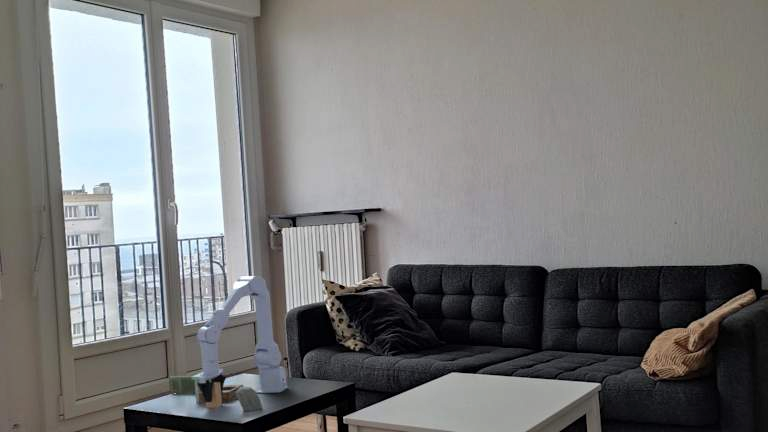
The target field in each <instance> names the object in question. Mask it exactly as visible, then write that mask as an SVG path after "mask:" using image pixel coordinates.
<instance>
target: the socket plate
mask: <svg viewBox="0 0 768 432" xmlns="http://www.w3.org/2000/svg"><path fill="white" fill-rule="evenodd" d="M241 386H242V387H244V384H224V385H223V390H222V396H221V399H222V403H230V402H232V401H234V400H235V399H238V398H237V396H236V394H235V392H236V391H237V390H238V388H240V387H241ZM198 394H199V402H198V403H199V404H202V403H205V404H206V402H205V399H204V396H203V394H202V392H200V393H198Z"/></svg>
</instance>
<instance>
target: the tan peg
mask: <svg viewBox="0 0 768 432" xmlns="http://www.w3.org/2000/svg"><path fill="white" fill-rule="evenodd" d="M205 405H206V409H218V408H219V407H221V406H222V405H223V402H222V399H221V387H220V382H215V383H214V385H213V389H212V402H206V403H205Z"/></svg>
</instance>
